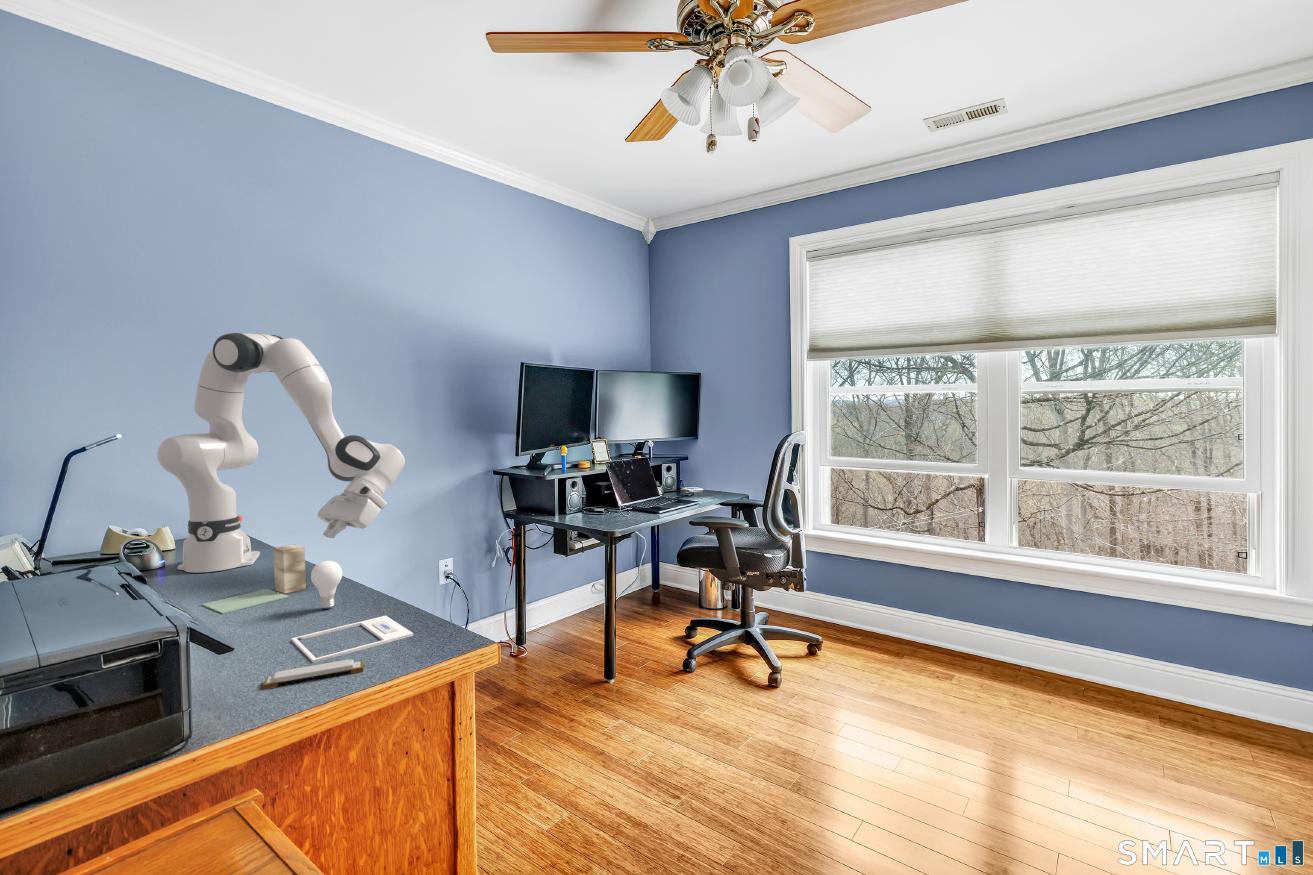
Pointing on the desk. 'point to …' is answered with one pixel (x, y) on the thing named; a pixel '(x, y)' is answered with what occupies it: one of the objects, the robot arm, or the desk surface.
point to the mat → (244, 601)
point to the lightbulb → (326, 581)
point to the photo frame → (378, 626)
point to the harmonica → (313, 672)
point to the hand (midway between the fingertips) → (327, 536)
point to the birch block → (289, 569)
